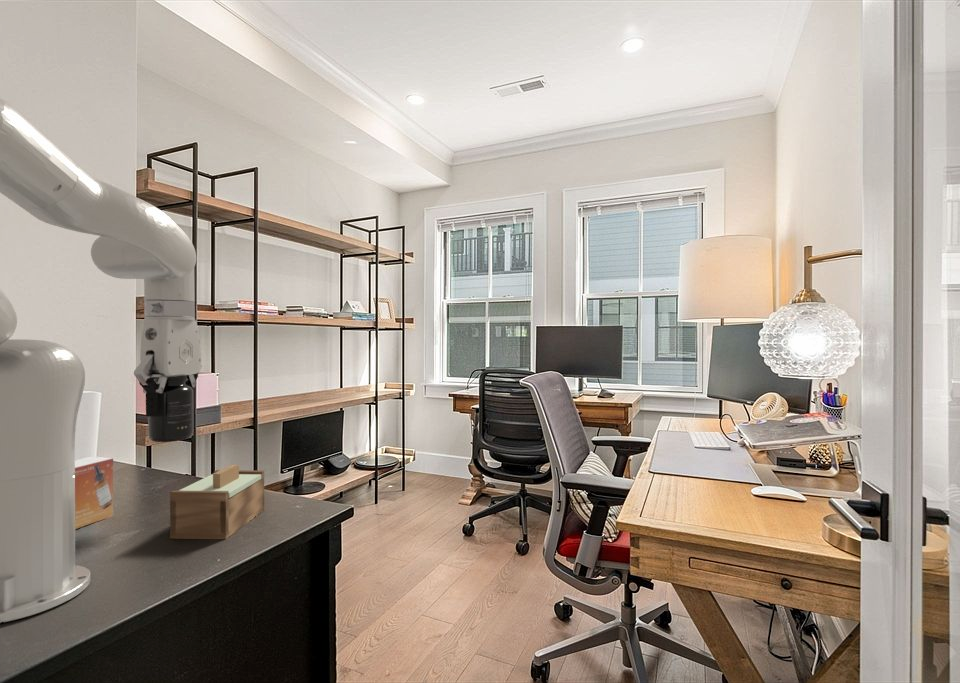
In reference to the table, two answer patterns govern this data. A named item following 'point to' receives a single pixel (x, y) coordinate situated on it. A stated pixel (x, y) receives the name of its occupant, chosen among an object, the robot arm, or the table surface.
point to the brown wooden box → (214, 511)
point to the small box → (93, 490)
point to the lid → (225, 481)
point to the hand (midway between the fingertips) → (171, 411)
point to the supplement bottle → (174, 413)
